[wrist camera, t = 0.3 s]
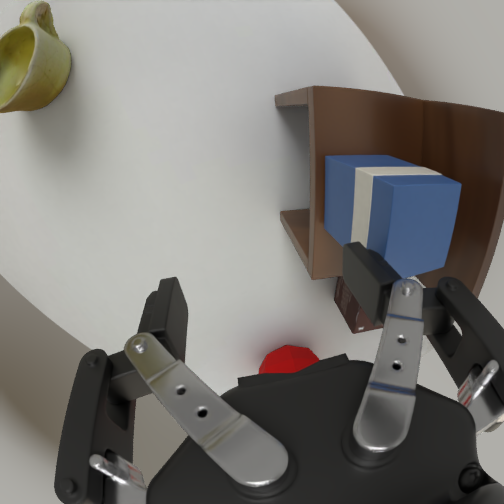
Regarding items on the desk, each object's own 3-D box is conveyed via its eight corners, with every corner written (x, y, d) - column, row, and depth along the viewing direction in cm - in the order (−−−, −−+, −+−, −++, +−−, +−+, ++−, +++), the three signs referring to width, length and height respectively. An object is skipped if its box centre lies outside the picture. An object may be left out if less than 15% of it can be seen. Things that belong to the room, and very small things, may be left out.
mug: (57, 132, 21) (-13, 117, 11) (17, 113, 21) (-39, 101, 11) (113, 32, 19) (63, -12, 9) (63, 29, 19) (17, -1, 9)
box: (368, 295, 39) (390, 327, 32) (332, 299, 38) (351, 335, 32) (377, 259, 36) (404, 290, 29) (339, 263, 35) (362, 296, 29)
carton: (322, 229, 19) (377, 286, 12) (323, 154, 16) (392, 184, 10) (382, 220, 19) (444, 267, 13) (388, 154, 17) (462, 182, 11)
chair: (280, 220, 31) (350, 359, 14) (274, 95, 25) (384, 72, 7) (359, 213, 32) (467, 320, 15) (362, 98, 25) (516, 117, 8)
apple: (314, 370, 46) (329, 415, 37) (255, 380, 45) (263, 428, 37) (319, 330, 41) (340, 381, 32) (251, 341, 40) (260, 396, 32)
